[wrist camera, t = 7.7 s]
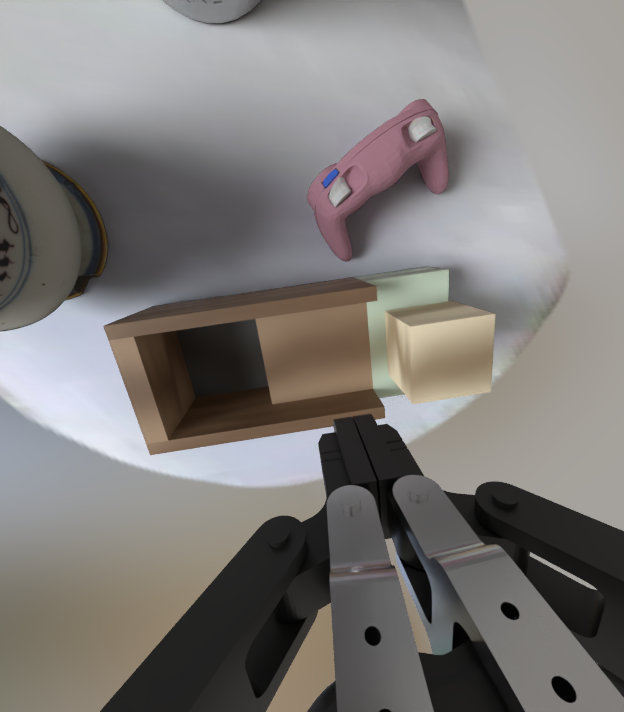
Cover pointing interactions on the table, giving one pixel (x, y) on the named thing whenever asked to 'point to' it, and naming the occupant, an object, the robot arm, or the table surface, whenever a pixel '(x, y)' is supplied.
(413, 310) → the maple block
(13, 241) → the apothecary jar
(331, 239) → the video game controller
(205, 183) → the table surface
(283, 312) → the channel
